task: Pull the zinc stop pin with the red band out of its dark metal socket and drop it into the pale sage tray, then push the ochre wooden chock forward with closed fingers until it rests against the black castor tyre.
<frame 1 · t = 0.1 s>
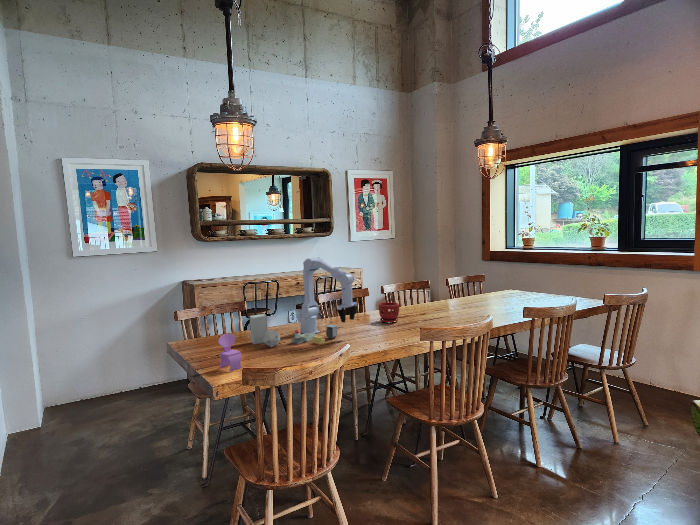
hand: (347, 320, 228), 10 cm above the table, tool pointing down, fingers open, 7 cm apart
chock: (319, 343, 222), on the table
castor: (332, 338, 231), on the table
skincare box: (259, 342, 226), on the table
toy chair: (230, 368, 184), on the table
pin socket: (297, 342, 224), on the table
plant pot: (389, 322, 269), on the table
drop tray: (306, 339, 230), on the table
die: (272, 346, 219), on the table
stop pin: (297, 336, 224), in the pin socket
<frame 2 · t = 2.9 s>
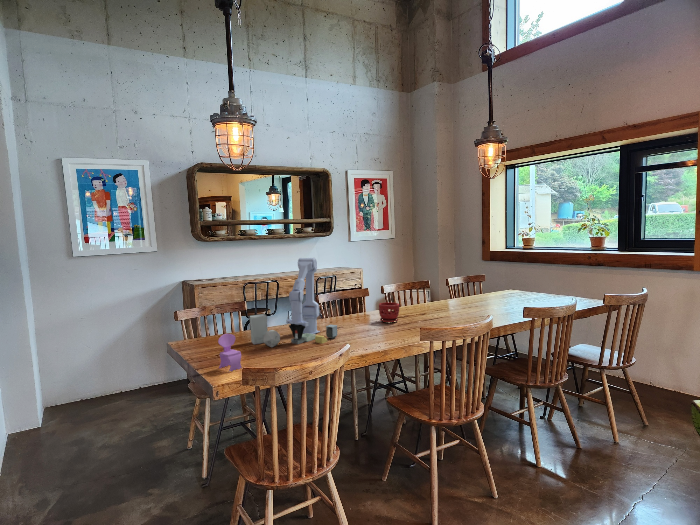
hand: (297, 338, 224), 2 cm above the table, tool pointing down, fingers closed on stop pin, 3 cm apart
chock: (321, 342, 224), on the table
stop pin: (297, 336, 224), in the pin socket, touching gripper
everything else where it was.
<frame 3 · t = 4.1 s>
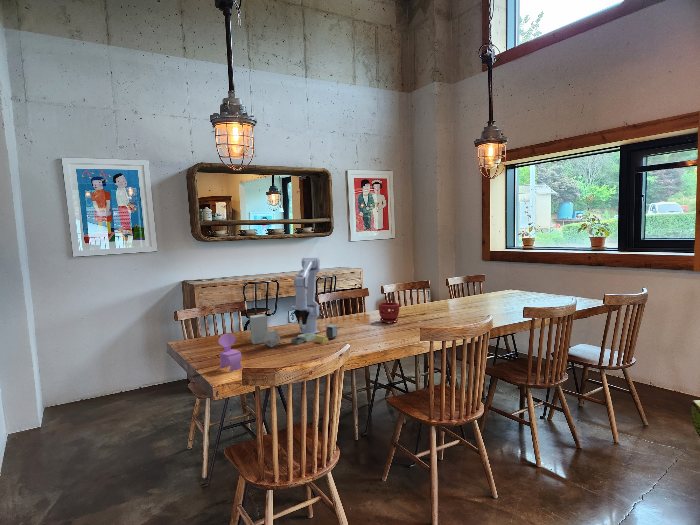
hand: (302, 324, 226), 9 cm above the table, tool pointing down, fingers closed on stop pin, 3 cm apart
stop pin: (302, 322, 226), point 10 cm above the table, touching gripper
everything else where it was.
when the fingers open (4 cm above the table, at t = 5.5 s): stop pin drops 1 cm, resting on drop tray.
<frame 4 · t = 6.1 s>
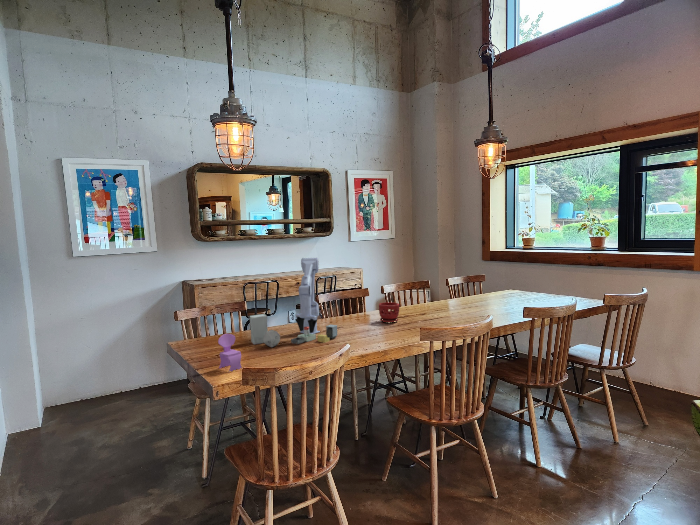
hand: (306, 331, 229), 4 cm above the table, tool pointing down, fingers open, 7 cm apart
chock: (323, 341, 225), on the table
stop pin: (306, 332, 229), in the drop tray
everything else where it was.
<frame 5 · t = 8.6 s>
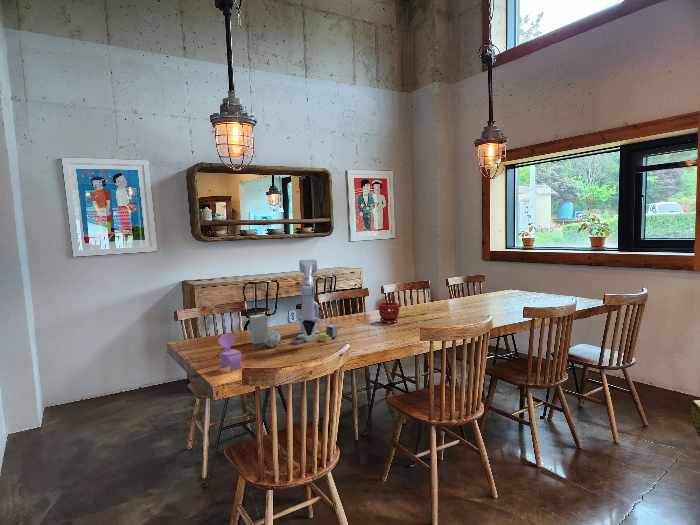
hand: (309, 334, 216), 6 cm above the table, tool pointing down, fingers closed
chock: (325, 340, 227), on the table
everything else where it was.
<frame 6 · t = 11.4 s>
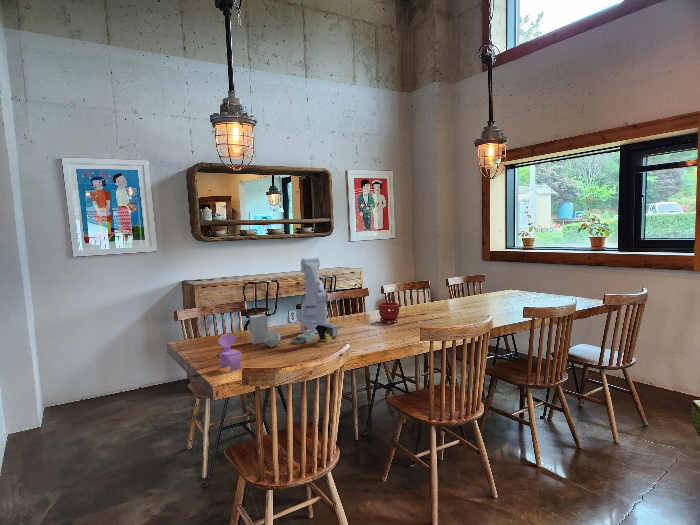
hand: (322, 339, 224), 1 cm above the table, tool pointing down, fingers closed, pressing on chock
chock: (326, 340, 227), on the table, touching castor, gripper
everything else where it was.
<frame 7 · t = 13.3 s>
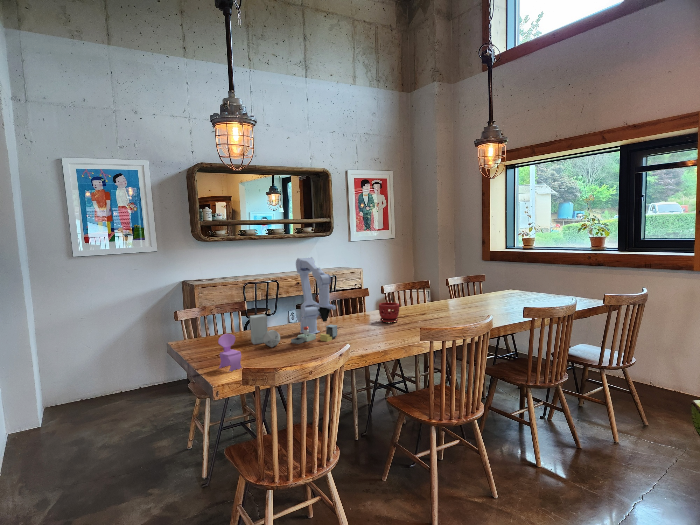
hand: (324, 321, 228), 10 cm above the table, tool pointing down, fingers closed
chock: (326, 340, 227), on the table, touching castor
everything else where it was.
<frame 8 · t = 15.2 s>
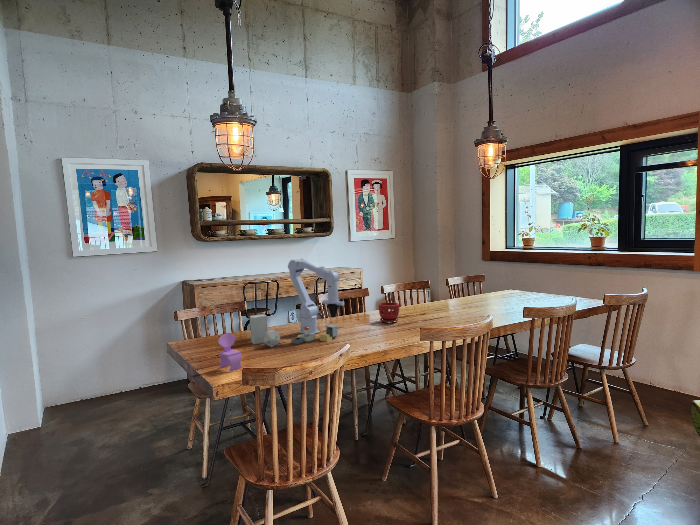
hand: (333, 317, 236), 10 cm above the table, tool pointing down, fingers closed
chock: (326, 340, 227), on the table
everything else where it was.
at the end: stop pin 0.1 cm off-centre on the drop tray, point 3.8 cm above the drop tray's base; chock 0.4 cm from the target spot, on the table; the gripper is holding nothing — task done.
